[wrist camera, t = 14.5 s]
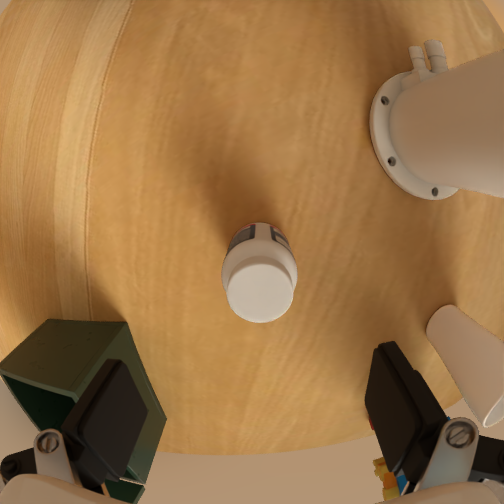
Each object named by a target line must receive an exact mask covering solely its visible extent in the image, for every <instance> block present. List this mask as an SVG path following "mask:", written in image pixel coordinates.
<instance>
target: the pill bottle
mask: <svg viewBox="0 0 504 504" xmlns="http://www.w3.org/2000/svg"><path fill="white" fill-rule="evenodd" d="M297 275H298V274H297V266H296V262H295V259H294V256H293V253H292V251H291V248H290V246H289V243H288V241H287V239H286V237H285V235H284V234H283V233H282V232H281V231H280V230H279V229H278V228H276V227H275V226H273V225H270V224H267V223H251V224H248V225H246V226H244V227H242V228H241V229H240V230H238V231H237V232H236V234H235V235H234V236H233V238H232V240H231V242H230V246H229V248H228V251H227V254H226V257H225V259H224V262H223V266H222V272H221V277H222V283H223V287H224V289H225V291H226V293H227V300H228V303H229V305H230V307H231V308H232V310H233V311H234V312H235V313H236V314H237V315H238V316H240V317H241V318H243V319H245V320H247V321H251V322H256V323H264V322H269V321H272V320H275V319H277V318H279V317H280V316H282V315H283V314H284V313H285V312H286V311H287V310H288V308H289V307H290V305H291V302H292V300H293V291H294V289H295V286H296V283H297Z"/></svg>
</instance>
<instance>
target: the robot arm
mask: <svg viewBox="0 0 504 504" xmlns="http://www.w3.org/2000/svg"><path fill="white" fill-rule="evenodd" d="M424 45H425V49H426V52H427V56H428V59H429V60H430V64H431V68H432V69H431V70H428V69H426V65H425V58H424V55H423V51H422V48H421V47H419V46H411V47H409V48H408V51H409V54H410V58H411V61H412V63H413V68H414V69H412V71H408V72H404V73H399V74H397V75H395V76H393V77H392V78H390V79H389V80H387V81H386V82H385V83H383V85H382V86H381V87H380V88H379V89H378V91H377V93H376V95H375V97H374V99H373V102H372V106H371V110H370V123H369V125H370V134H371V140H372V143H373V147H374V151H375V153H376V155H377V157H378V160H379V162H380V164H381V165H382V167H383V169H384V170H385V172H386V173H387V175H388V176H389V177H390V178H391V179H392V180H393V182H394V183H395V184H396V185H398V186H399V187H400V188H401V189H403V190H404V191H406V192H407V193H409V194H411V195H413V196H416V197H419V198H422V199H428V200H440V199H444V198H447V197H449V196H451V195H453V194H454V193H456V192H457V191H458V190H459V189H465V190H470V191H474V192H479V193H484V194H488V195H492V196H497V197H501V198H504V49H502V50H500V51H497V52H494V53H491V54H488V55H485V56H482V57H480V58H477V59H474V60H472V61H469V62H467V63H464V64H462V65H459V66H457V67H454V68H452V69H448V67H447V63H446V56H445V52H444V49H443V46H442V43H441V42H440V41H438V40H427V41H425V42H424ZM381 100H382V101H383V104H382V102H381ZM388 159H389V160H390V163H389V164H388ZM365 406H366V408H367V411H368V414H369V417H370V419H371V422H372V425H373V428H374V431H375V433H376V436H377V439H378V442H379V445H380V448H381V451H382V454H383V457H384V460H385V463H386V466H387V469H388V471H389V472H393V473H394V476H395V477H399V476H401V475H405V478H406V481H408V482H407V484H406V486H405V488H404V490H403V492H402V494H401V495H400V497H396V498H393V499H390V500H386V501H383V502H379V503H375V504H504V440H499V439H494V438H489V437H485V436H481V435H479V430H478V427H477V426H476V424H475V423H474V422H473V421H471V420H470V419H467V418H463V417H458V418H453V419H451V420H448V418H447V416H446V415H445V413H444V411H443V410H442V408H441V406H440V405H439V403H438V401H437V400H436V398H435V396H434V395H433V393H432V392H431V390H430V388H429V387H428V385H427V384H426V382H425V380H424V379H423V377H422V376H421V374H420V373H419V372H418V371H417V370H414V369H413V368H412V366H411V365H410V363H409V362H408V360H407V359H406V357H405V356H404V354H403V353H402V351H401V350H400V348H399V347H398V345H397V344H396V342H395V341H390V342H386V343H381V344H379V345H378V348H375V349H374V352H373V358H372V364H371V369H370V375H369V380H368V385H367V389H366V394H365ZM147 415H148V410H147V407H146V405H145V403H144V401H143V399H142V397H141V395H140V393H139V391H138V389H137V387H136V385H135V382H134V380H133V378H132V376H131V374H130V371H129V369H128V367H127V365H126V364H125V363H123V361H122V360H120V359H110V358H108V359H106V360H105V362H104V363H103V365H102V366H101V367H100V369H99V370H98V372H97V373H96V375H95V376H94V378H93V379H92V380H91V382H90V383H89V385H88V386H87V388H86V389H85V391H84V392H83V394H82V395H81V397H80V398H79V400H78V401H77V403H76V404H75V406H74V407H73V409H72V410H71V412H70V413H69V415H68V416H67V418H66V419H65V421H64V423H63V424H62V426H61V427H60V428H61V429H62V430H63V431H62V433H60V432H59V431H58V430H56V429H46V430H43V431H41V432H40V433H39V434H38V435H37V436H36V438H35V440H34V447H33V448H30V449H27V450H24V451H21V452H18V453H14V454H11V455H8V456H7V457H5V458H4V459H3V461H2V462H1V466H0V504H130V503H127V502H123V501H120V500H117V499H114V498H111V497H110V495H109V493H108V491H107V488H106V486H105V484H104V481H105V478H106V479H108V480H112V481H115V482H118V481H119V478H120V477H122V476H123V475H124V474H125V471H126V468H127V466H128V463H129V460H130V458H131V455H132V453H133V450H134V448H135V445H136V443H137V440H138V438H139V435H140V433H141V430H142V428H143V425H144V423H145V420H146V418H147Z"/></svg>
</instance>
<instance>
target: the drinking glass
mask: <svg viewBox="0 0 504 504" xmlns="http://www.w3.org/2000/svg"><path fill="white" fill-rule="evenodd" d="M426 336H427V339H428V340H429V342H430V343H431V344H432V346H433V347H434V348H435V350H436V351H437V353H438V354H439V356H440V358H441V359H442V361H443V363H444V364H445V366H446V368H447V369H448V371H449V373H450V374H451V376H452V378H453V380H454V382H455V383H456V385H457V387H458V389H459V391H460V392H461V394H462V396H463V398H464V400H465V401H466V403H467V404H468V406H469V408H470V409H471V411H472V412H473V414H474V415H475V416H476V418H477V419H478V421H479V422H480V423H481V424H482V426H483V427H485V428H487V427H490V426H493V425H495V424H496V423H498V422H499V421H500V420H502V419H503V418H504V342H503V341H502V340H501V339H499V338H498V337H497V336H495V335H494V334H493V333H491V332H490V331H489V330H487V329H486V328H484V327H483V326H482V325H480V324H479V323H477V322H476V321H475V320H473V319H472V318H470V317H469V316H468V315H466V314H465V313H464V312H463V311H461V310H460V309H459V308H458V307H456V306H455V305H445V306H443V307H441V308H440V309H438V310H437V311H436V312H435V313H434V314H433V315H432V317H431V318H430V320H429V322H428V325H427V328H426Z"/></svg>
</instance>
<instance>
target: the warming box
mask: <svg viewBox="0 0 504 504" xmlns="http://www.w3.org/2000/svg"><path fill="white" fill-rule="evenodd" d="M108 358H110V359H120V360H122V361H123V363H125V364H126V365H127V367H128V369H129V371H130V374H131V376H132V378H133V380H134V382H135V385H136V387H137V389H138V391H139V393H140V395H141V397H142V399H143V401H144V403H145V405H146V407H147V410H148V415H147V418H146V420H145V423H144V425H143V428H142V430H141V433H140V435H139V438H138V440H137V443H136V445H135V448H134V450H133V453H132V455H131V458H130V460H129V463H128V466H127V468H126V471H125V474H124V475H123V476H122V477H120V478H122V479H126V480H129V481H133V482H137V483H142V484H145V483H146V480H147V477H148V474H149V471H150V468H151V465H152V462H153V459H154V456H155V452H156V450H157V447H158V444H159V441H160V438H161V435H162V432H163V429H164V426H165V423H166V420H167V418H166V416H165V414H164V412H163V410H162V407H161V405H160V403H159V401H158V399H157V397H156V395H155V392H154V390H153V388H152V386H151V383H150V381H149V379H148V376H147V374H146V372H145V369H144V367H143V364H142V362H141V359H140V357H139V354H138V352H137V349H136V346H135V344H134V341H133V338H132V335H131V332H130V330H129V327H128V324H127V322H98V321H73V320H55V319H47V320H46V321H45V322H44V323H43V324H42V325H40V326H39V327H38V328H37V329H36V330H35V331H34V332H33V333H31V334H30V335H29V336H28V337H27V338H26V339H25V340H24V341H23V342H21V343H20V344H19V345H18V346H17V347H16V348H15V349H14V350H13V351H12V352H11V353H10V354H9V355H8V356H7V357H6V358H4V359H3V360H2V361H1V362H0V376H1V377H2V379H3V381H4V382H5V384H6V385H7V387H8V389H9V390H10V392H11V393H12V395H13V396H14V398H15V399H16V401H17V402H18V404H19V405H20V406H21V408H22V409H23V411H24V412H25V413H26V415H27V416H28V417H29V419H30V420H31V421H32V423H33V424H34V425H35V427H36V428H37V429H38V430H39V431H40V432H41V431H43V430H46V429H56V430H58V431H59V432H60V433H62V431H63V430H62V429H61V428H60V427H61V426H62V424H63V423H64V421H65V419H66V418H67V416H68V415H69V413H70V412H71V410H72V409H73V407H74V406H75V404H76V403H77V401H78V400H79V398H80V397H81V395H82V394H83V392H84V391H85V389H86V388H87V386H88V385H89V383H90V382H91V380H92V379H93V378H94V376H95V375H96V373H97V372H98V370H99V369H100V367H101V366H102V365H103V363H104V362H105V360H106V359H108Z"/></svg>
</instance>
